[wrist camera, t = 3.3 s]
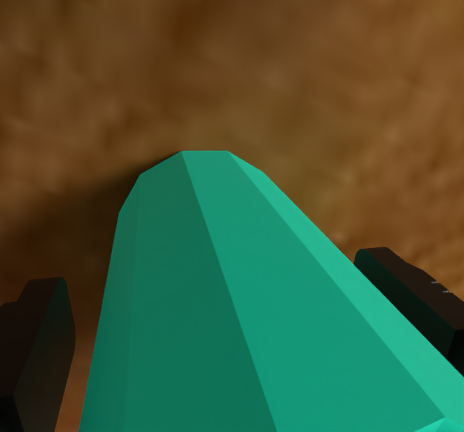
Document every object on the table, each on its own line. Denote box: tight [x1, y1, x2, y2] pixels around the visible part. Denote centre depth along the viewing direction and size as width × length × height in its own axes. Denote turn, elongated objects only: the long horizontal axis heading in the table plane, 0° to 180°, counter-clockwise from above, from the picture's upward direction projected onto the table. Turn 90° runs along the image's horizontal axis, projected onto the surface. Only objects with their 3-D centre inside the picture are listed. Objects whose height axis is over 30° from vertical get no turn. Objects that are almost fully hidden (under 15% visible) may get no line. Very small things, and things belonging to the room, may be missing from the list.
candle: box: [79, 151, 464, 432], centre depth 8 cm, size 6×6×12 cm
